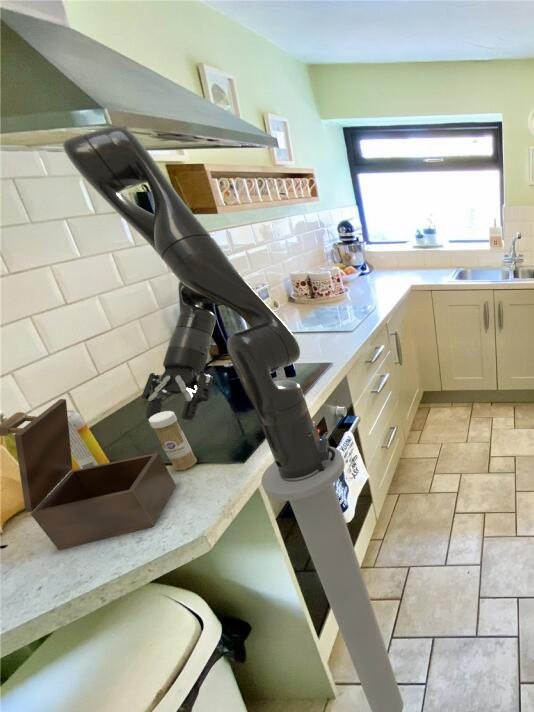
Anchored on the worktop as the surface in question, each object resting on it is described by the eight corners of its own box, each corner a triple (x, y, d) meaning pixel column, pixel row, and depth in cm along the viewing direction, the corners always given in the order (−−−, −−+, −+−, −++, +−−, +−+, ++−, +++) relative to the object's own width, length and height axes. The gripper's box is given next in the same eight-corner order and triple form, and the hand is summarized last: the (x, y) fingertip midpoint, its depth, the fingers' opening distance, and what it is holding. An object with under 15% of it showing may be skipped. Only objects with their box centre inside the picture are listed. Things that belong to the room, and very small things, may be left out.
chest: (176, 485, 90) (158, 452, 86) (153, 526, 79) (131, 491, 75) (94, 504, 86) (71, 470, 82) (58, 550, 75) (30, 514, 71)
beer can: (106, 460, 100) (73, 406, 93) (114, 468, 96) (80, 413, 90) (73, 474, 95) (35, 418, 88) (80, 483, 92) (41, 426, 85)
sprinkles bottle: (174, 474, 94) (146, 423, 87) (174, 464, 97) (148, 414, 91) (198, 465, 96) (173, 416, 90) (197, 456, 99) (174, 407, 93)
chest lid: (66, 399, 77) (27, 396, 74) (21, 435, 66) (-27, 432, 64) (72, 468, 82) (36, 467, 80) (31, 512, 71) (-12, 512, 69)
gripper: (145, 345, 94) (123, 415, 89) (203, 344, 93) (184, 415, 88) (174, 356, 101) (155, 422, 96) (228, 356, 100) (212, 423, 95)
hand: (169, 419), depth 92 cm, fingers open, 8 cm apart
